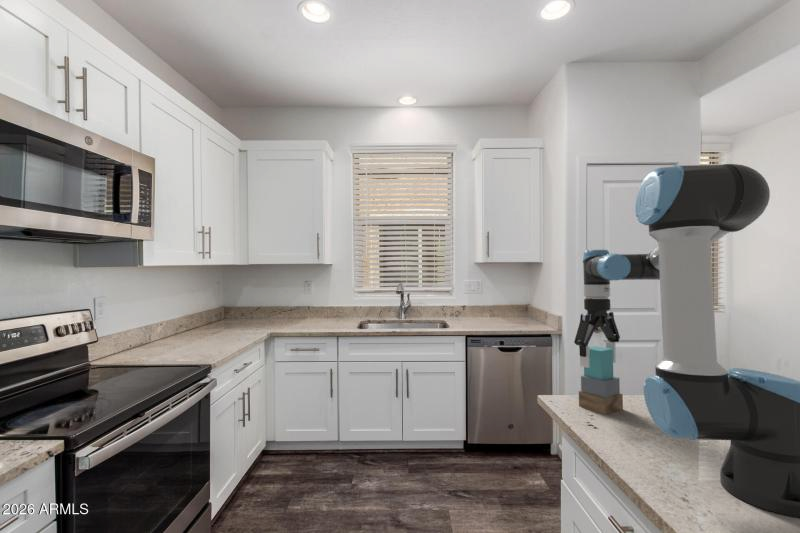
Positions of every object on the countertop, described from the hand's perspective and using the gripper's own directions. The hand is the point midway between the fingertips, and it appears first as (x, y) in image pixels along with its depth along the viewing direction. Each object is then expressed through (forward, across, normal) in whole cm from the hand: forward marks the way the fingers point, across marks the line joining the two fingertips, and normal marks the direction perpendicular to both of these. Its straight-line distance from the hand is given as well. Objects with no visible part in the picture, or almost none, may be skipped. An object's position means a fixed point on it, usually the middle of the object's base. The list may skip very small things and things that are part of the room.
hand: (598, 364), depth 126 cm
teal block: (+4, 0, 0) cm, 4 cm away
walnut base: (+14, 0, 0) cm, 14 cm away
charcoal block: (+9, 0, 0) cm, 9 cm away
